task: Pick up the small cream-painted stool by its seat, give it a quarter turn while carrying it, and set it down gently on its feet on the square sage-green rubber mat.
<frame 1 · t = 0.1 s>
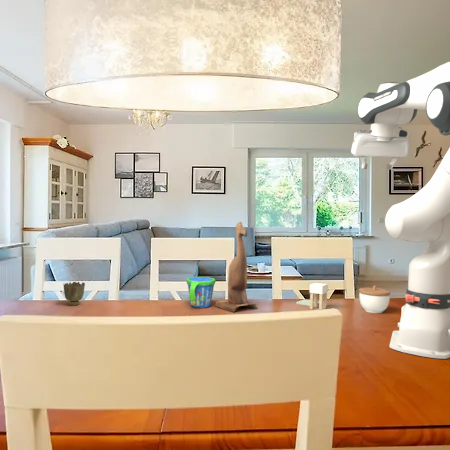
hand: (376, 168, 155), 52 cm above the table, tool tilted 20°, fingers open, 8 cm apart
cup: (74, 305, 156), on the table
mat: (308, 303, 166), on the table
bird sculpture: (236, 308, 156), on the table
snack cup: (200, 306, 158), on the table
stool: (318, 308, 158), on the table
lidded jar: (373, 311, 155), on the table
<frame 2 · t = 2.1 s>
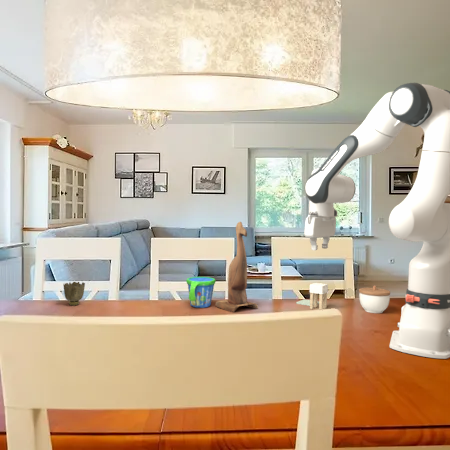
hand: (319, 249, 157), 22 cm above the table, tool pointing down, fingers open, 8 cm apart
nothing on the table moved.
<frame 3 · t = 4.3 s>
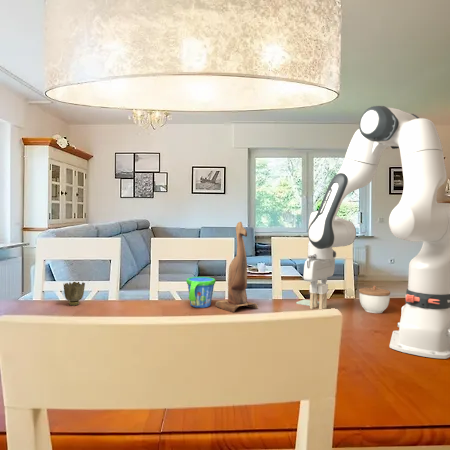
hand: (318, 290, 157), 7 cm above the table, tool pointing down, fingers closed on stool, 5 cm apart
stool: (318, 308, 158), on the table, touching gripper
everything else where it was.
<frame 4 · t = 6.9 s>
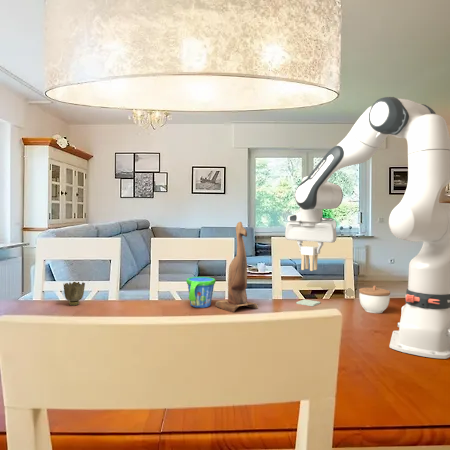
hand: (309, 252, 165), 20 cm above the table, tool pointing down, fingers closed on stool, 5 cm apart
stool: (309, 269, 165), point 13 cm above the table, touching gripper
everything else where it was.
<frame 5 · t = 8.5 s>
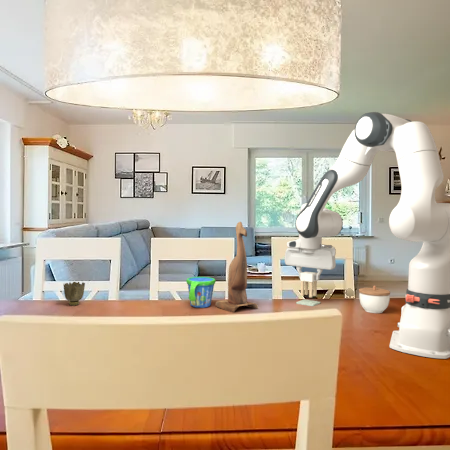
hand: (309, 279, 166), 10 cm above the table, tool pointing down, fingers closed on stool, 5 cm apart
stool: (308, 295, 166), point 3 cm above the table, touching gripper
everything else where it was.
when the fingers open (9 cm above the table, at t = 9.6 s): stool drops 1 cm, resting on mat.
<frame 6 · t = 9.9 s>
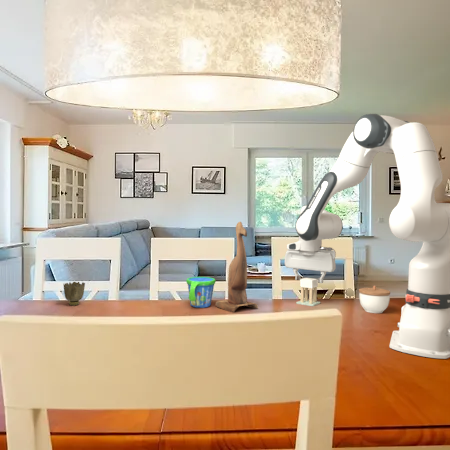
hand: (309, 281, 166), 9 cm above the table, tool pointing down, fingers open, 8 cm apart
stool: (308, 302, 166), point 1 cm above the table, touching mat
everything else where it was.
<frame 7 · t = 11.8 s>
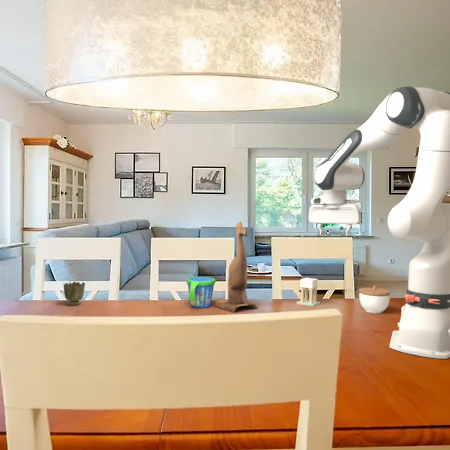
hand: (334, 235, 164), 27 cm above the table, tool pointing down, fingers open, 8 cm apart
nothing on the table moved.
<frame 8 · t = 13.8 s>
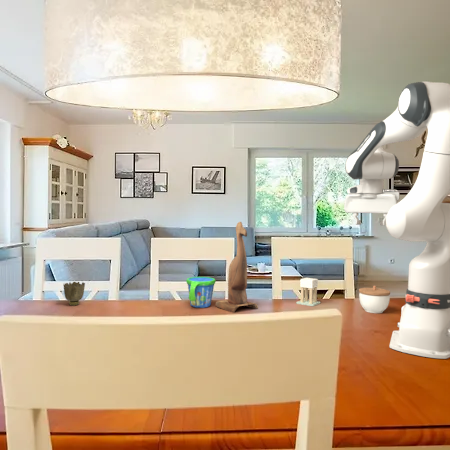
hand: (370, 225, 164), 31 cm above the table, tool pointing down, fingers open, 8 cm apart
nothing on the table moved.
at the end: stool 0.2 cm from the mat (horizontally); stool tilted 0°; stool point 0.6 cm above the table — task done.
